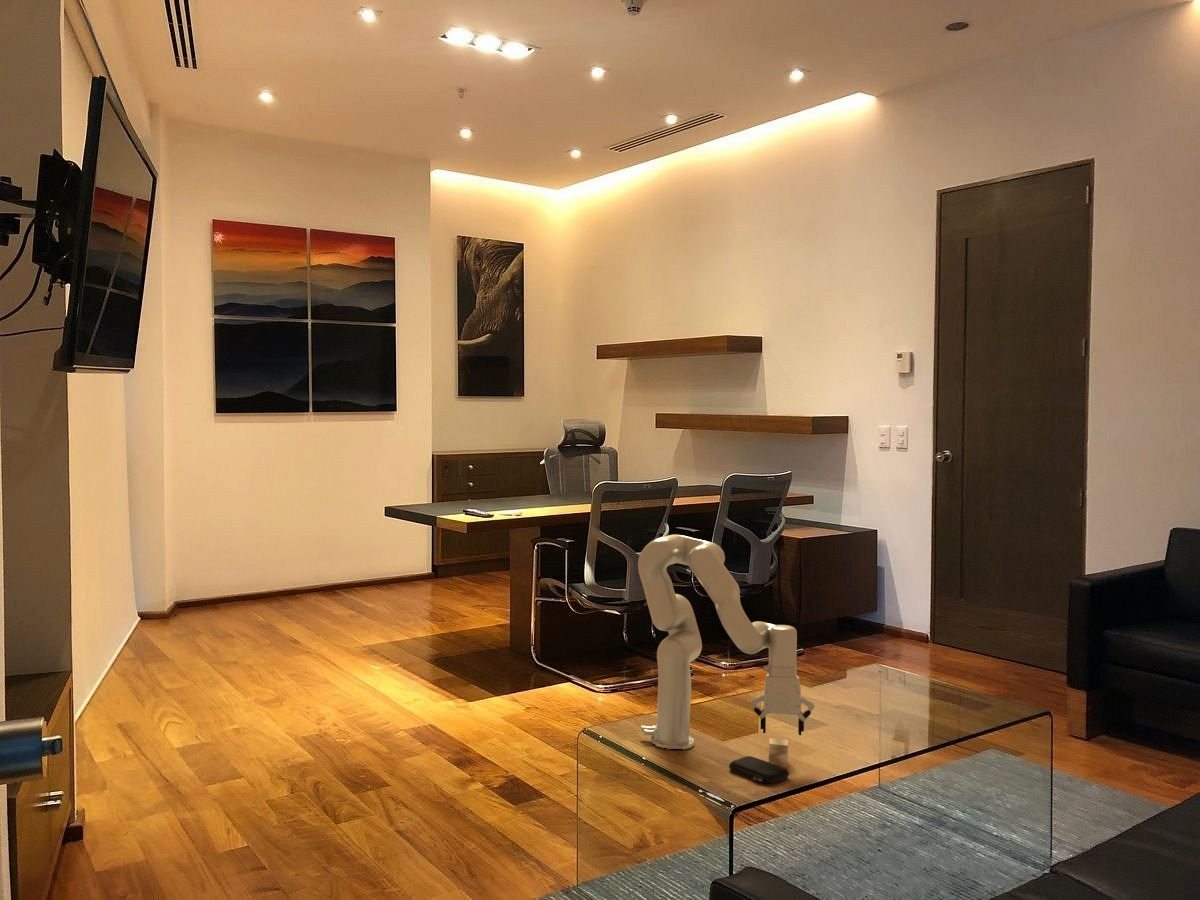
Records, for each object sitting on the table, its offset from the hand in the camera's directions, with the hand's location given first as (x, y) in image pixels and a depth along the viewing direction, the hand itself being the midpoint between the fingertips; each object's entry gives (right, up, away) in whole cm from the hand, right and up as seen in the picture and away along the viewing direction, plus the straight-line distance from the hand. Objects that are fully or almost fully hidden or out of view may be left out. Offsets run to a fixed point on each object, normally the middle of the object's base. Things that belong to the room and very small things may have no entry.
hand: (782, 732), depth 260 cm
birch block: (-1, -9, +1) cm, 9 cm away
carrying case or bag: (-8, -9, -9) cm, 15 cm away
